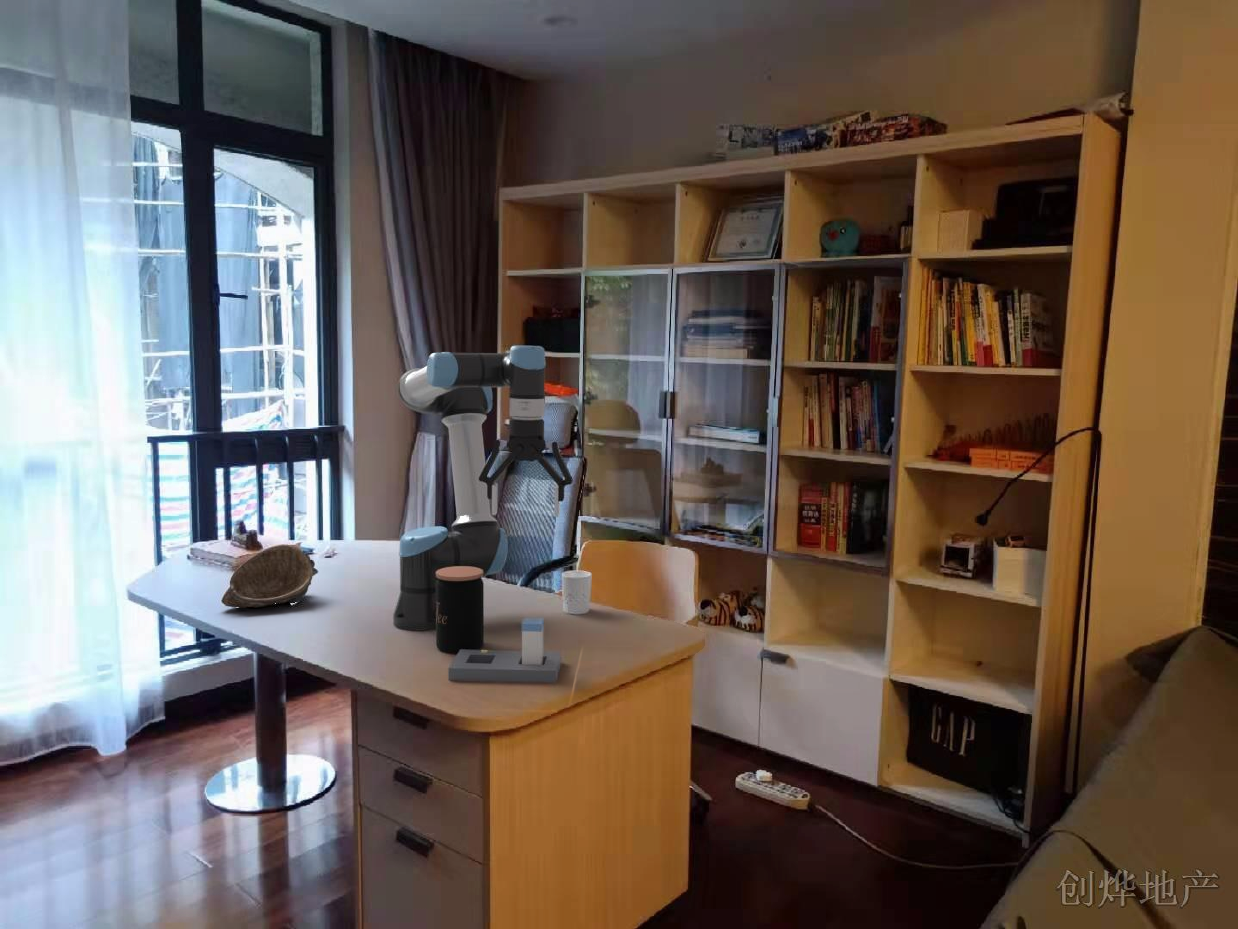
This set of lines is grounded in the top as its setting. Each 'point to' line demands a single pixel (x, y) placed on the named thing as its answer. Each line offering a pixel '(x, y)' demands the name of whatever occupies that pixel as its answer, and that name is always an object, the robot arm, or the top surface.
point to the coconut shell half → (271, 578)
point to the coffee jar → (459, 609)
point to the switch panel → (503, 667)
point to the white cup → (576, 591)
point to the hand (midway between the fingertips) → (525, 515)
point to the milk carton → (532, 641)
